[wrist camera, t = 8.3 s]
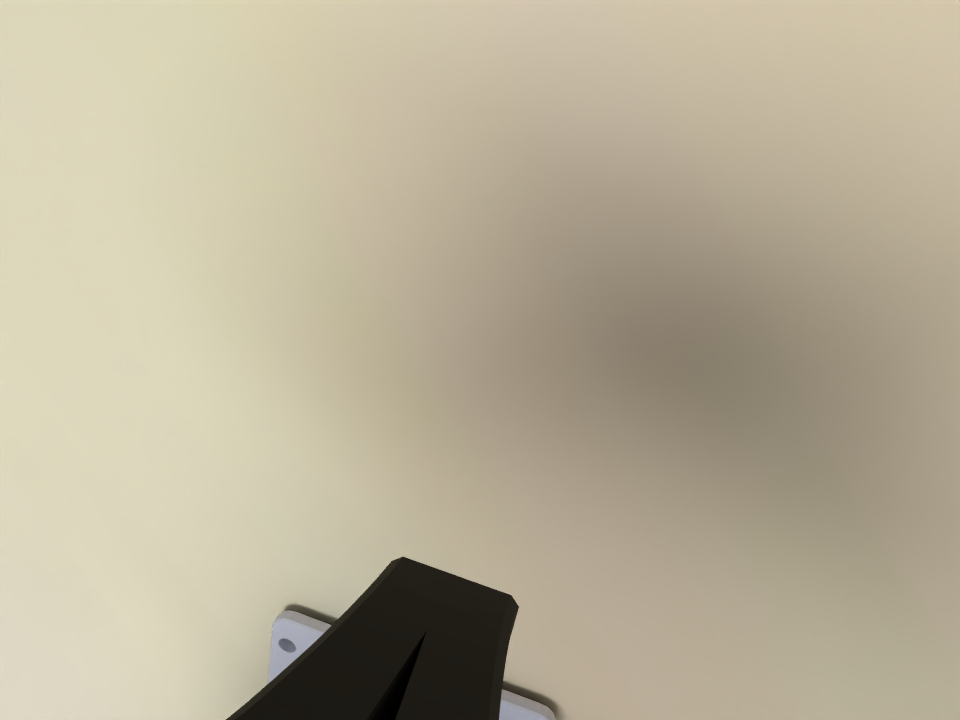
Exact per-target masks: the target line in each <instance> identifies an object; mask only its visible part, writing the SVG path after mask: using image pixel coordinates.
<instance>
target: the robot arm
mask: <svg viewBox="0 0 960 720" xmlns="http://www.w3.org/2000/svg"><path fill="white" fill-rule="evenodd" d="M518 609H519V606H518V605H517V603H516V602H515V600H514V599H513V597H512V596H511V595H509V594H506V593H503V592H500V591H498V590H495V589H492V588H489V587H486V586H484V585H481V584H478V583H475V582H472V581H470V580H467V579H464V578H461V577H458V576H456V575H453V574H450V573H447V572H444V571H442V570H439V569H436V568H433V567H430V566H428V565H425V564H422V563H419V562H416V561H414V560H411V559H408V558H405V557H401V558H399V559H396V560H393V561H391V563H390V564H389V565H388V566H387V567H386V569H385V570H384V571H383V572H382V573H381V574H380V576H379V577H378V578H377V579H376V580H375V581H374V582H373V583H372V584H371V586H370V587H369V588H368V589H367V590H366V591H365V592H364V593H363V594H362V595H361V596H360V597H359V598H358V599H357V601H356V602H355V603H354V604H353V605H352V606H351V607H350V608H349V609H348V610H347V611H346V612H345V613H344V614H343V615H342V616H341V617H340V618H339V619H338V620H337V621H336V622H335V623H334V624H333V625H330V624H327V623H325V622H322V621H319V620H317V619H314V618H311V617H309V616H306V615H303V614H301V613H298V612H295V611H290V610H288V611H282V612H281V613H280V614H279V615H278V616H277V618H276V619H275V621H274V623H273V625H272V637H271V651H270V664H269V678H268V685H266V686H265V687H264V688H263V689H262V690H261V691H260V692H259V693H258V694H256V695H255V696H254V697H253V698H252V699H251V700H249V701H248V702H247V703H246V704H245V705H243V706H242V707H241V708H240V709H239V710H237V711H236V712H235V713H234V714H232V715H231V716H230V717H229V718H227V719H226V720H556V717H555V715H554V713H553V712H552V711H551V710H550V709H549V708H548V707H547V706H545V705H543V704H541V703H538V702H535V701H533V700H530V699H527V698H525V697H522V696H519V695H517V694H514V693H511V692H509V691H506V690H503V689H502V684H503V676H504V669H505V662H506V656H507V650H508V645H509V640H510V636H511V633H512V629H513V626H514V622H515V619H516V616H517V612H518Z"/></svg>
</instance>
